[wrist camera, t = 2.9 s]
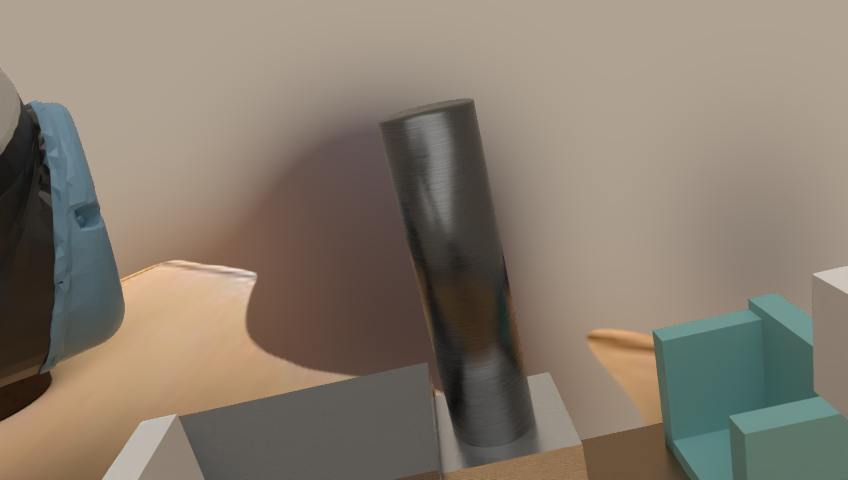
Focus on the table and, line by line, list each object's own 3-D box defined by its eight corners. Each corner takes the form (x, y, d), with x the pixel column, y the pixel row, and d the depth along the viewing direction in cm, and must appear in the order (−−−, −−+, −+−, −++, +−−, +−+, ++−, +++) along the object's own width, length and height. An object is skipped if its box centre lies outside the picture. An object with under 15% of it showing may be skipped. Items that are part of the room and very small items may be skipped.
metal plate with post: (187, 635, 23) (-11, 222, 18) (222, 536, 27) (73, 184, 22) (599, 548, 22) (524, 97, 17) (565, 463, 27) (497, 85, 22)
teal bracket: (753, 572, 21) (743, 421, 19) (665, 441, 28) (651, 320, 26) (907, 540, 21) (914, 385, 19) (780, 416, 28) (775, 293, 26)
